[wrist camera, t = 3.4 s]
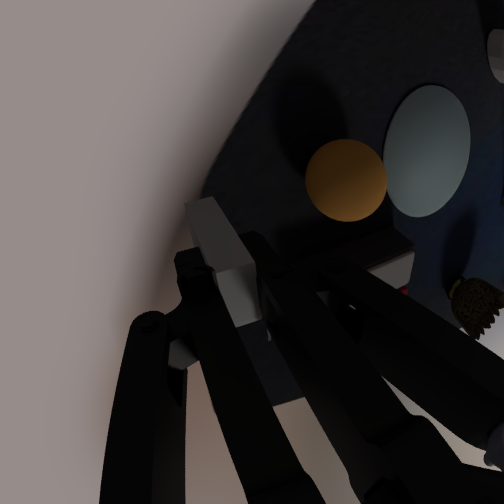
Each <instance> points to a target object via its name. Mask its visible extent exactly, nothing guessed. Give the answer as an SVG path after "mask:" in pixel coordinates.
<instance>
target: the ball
mask: <svg viewBox="0 0 504 504" xmlns="http://www.w3.org/2000/svg"><path fill="white" fill-rule="evenodd" d="M305 179H306V188H307V192H308V195H309V197H310V199H311V201H312V202H313V204H314V205H315V206H316V207H317V209H318V210H319V211H321V212H322V213H323V214H325V215H326V216H328V217H330V218H332V219H335V220H339V221H345V222H350V221H357V220H360V219H363V218H365V217H367V216H369V215H370V214H372V213H373V212H374V211H375V210H376V209H377V208H378V207H379V206H380V204H381V203H382V201H383V199H384V196H385V193H386V189H387V174H386V170H385V167H384V164H383V162H382V161H381V159H380V157H379V156H378V155H377V154H376V152H375V151H374V150H372V149H371V148H370V147H369V146H367V145H365V144H363V143H361V142H359V141H355V140H351V139H339V140H335V141H331V142H329V143H327V144H325V145H323V146H322V147H320V148H319V149H318V150H317V151H316V152H315V153H314V155H313V156H312V158H311V159H310V161H309V163H308V166H307V170H306V176H305Z"/></svg>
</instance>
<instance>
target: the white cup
mask: <svg viewBox="0 0 504 504" xmlns="http://www.w3.org/2000/svg"><path fill="white" fill-rule="evenodd" d="M487 56H488V60H489V65H490V68H491V70H492V73H493V75H494V77H495V78H496V79H497V80H498V81H499V82H501V83H504V30H501V29H493V30H492V31H491V32H490V33H489V36H488V41H487Z"/></svg>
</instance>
